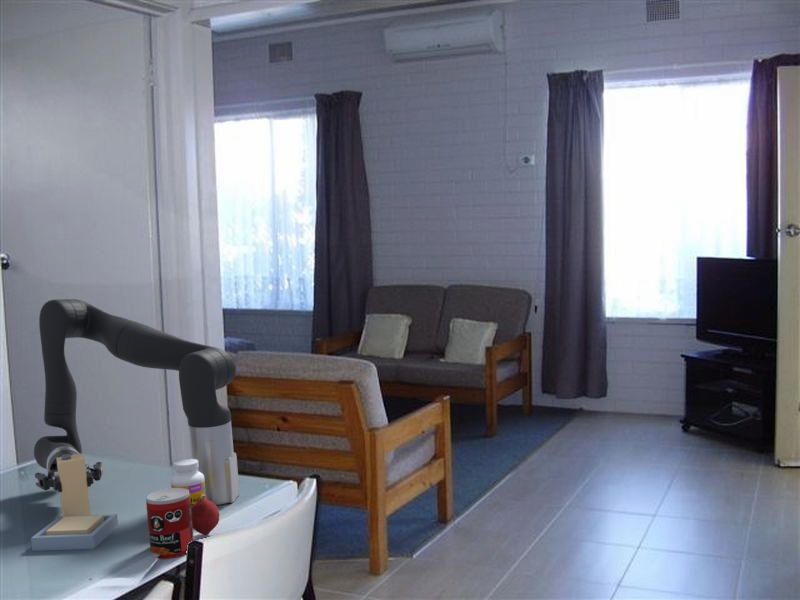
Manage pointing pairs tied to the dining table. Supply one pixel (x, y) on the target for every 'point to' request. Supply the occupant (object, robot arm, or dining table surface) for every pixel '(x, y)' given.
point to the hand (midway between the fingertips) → (74, 484)
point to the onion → (204, 515)
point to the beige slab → (75, 525)
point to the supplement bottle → (189, 479)
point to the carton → (73, 485)
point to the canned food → (169, 522)
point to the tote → (74, 536)
